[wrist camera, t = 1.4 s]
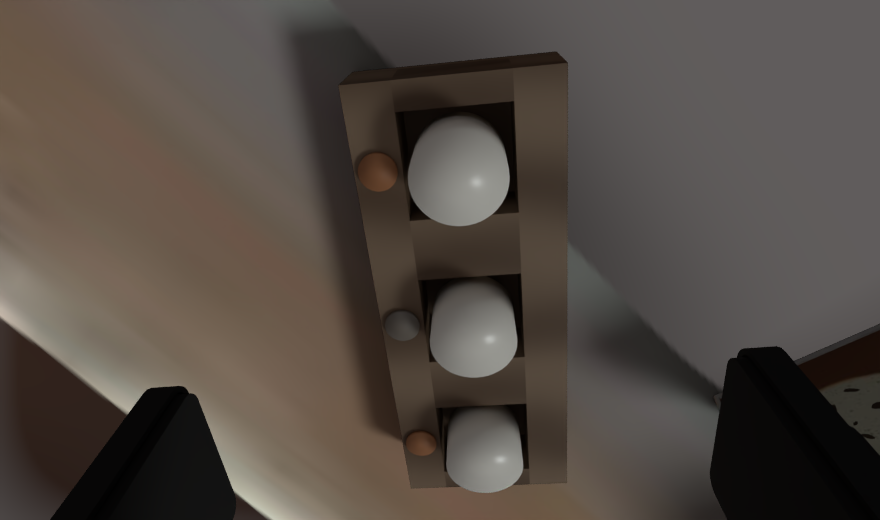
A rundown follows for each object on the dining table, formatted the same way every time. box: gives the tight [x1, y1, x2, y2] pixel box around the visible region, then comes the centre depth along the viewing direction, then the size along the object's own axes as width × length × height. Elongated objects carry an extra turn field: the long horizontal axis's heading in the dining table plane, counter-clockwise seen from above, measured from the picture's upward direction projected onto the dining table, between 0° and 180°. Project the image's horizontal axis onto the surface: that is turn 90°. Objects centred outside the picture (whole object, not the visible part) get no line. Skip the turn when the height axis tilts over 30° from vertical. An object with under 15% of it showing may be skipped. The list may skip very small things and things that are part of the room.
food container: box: [713, 324, 880, 455], centre depth 27 cm, size 12×6×10 cm, turn 125°
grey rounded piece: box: [408, 112, 510, 226], centre depth 22 cm, size 4×4×3 cm
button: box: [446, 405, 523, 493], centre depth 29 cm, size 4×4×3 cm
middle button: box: [430, 276, 517, 378], centre depth 26 cm, size 4×4×3 cm
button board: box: [338, 52, 568, 488], centre depth 27 cm, size 22×9×3 cm, turn 6°
